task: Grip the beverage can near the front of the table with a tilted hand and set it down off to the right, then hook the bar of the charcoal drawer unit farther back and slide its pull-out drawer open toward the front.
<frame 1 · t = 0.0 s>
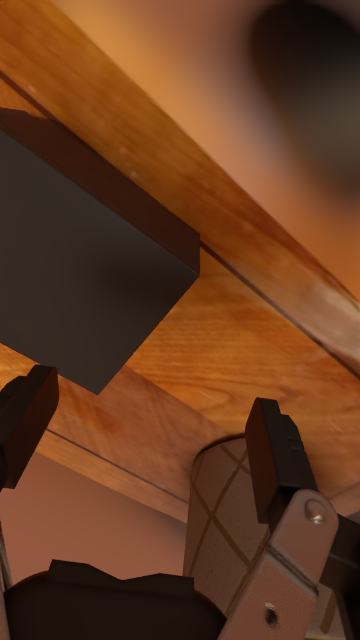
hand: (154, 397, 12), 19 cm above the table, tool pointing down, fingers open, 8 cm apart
planter: (248, 468, 46), on the table
fryer: (93, 244, 29), on the table
pull-out drawer: (21, 226, 24), point 5 cm above the table, slide at 0.5 cm
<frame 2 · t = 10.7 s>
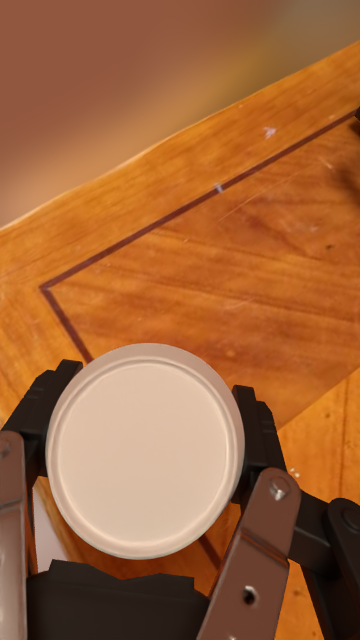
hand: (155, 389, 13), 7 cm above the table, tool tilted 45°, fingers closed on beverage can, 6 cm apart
beverage can: (153, 417, 20), on the table, touching gripper
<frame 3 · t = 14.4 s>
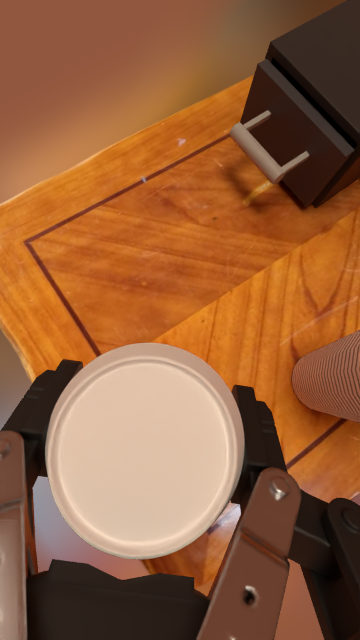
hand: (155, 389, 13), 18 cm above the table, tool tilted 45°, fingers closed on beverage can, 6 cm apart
beverage can: (153, 417, 20), point 11 cm above the table, touching gripper
fryer: (321, 139, 39), on the table
pull-out drawer: (313, 123, 33), point 5 cm above the table, slide at 0.5 cm
cup: (317, 381, 32), on the table
when the fingers open (7 cm above the table, at t = 18.5 s): beverage can stays where it is, on the table.
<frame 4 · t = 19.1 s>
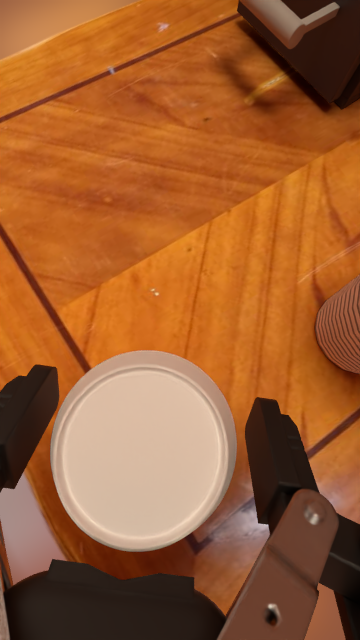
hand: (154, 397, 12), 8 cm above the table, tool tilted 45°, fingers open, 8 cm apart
beverage can: (152, 419, 20), on the table
fryer: (346, 27, 30), on the table
cup: (351, 333, 23), on the table
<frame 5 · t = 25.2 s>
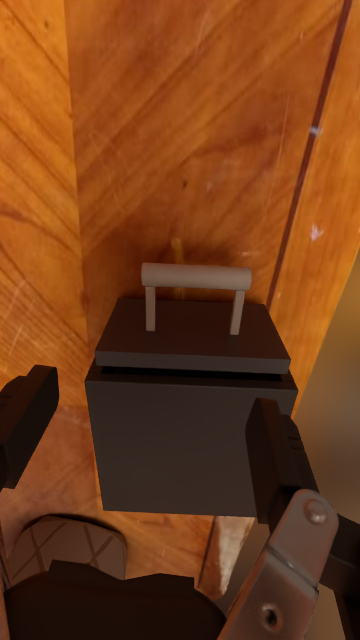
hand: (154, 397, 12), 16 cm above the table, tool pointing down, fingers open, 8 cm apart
planter: (75, 541, 49), on the table
fryer: (186, 376, 32), on the table
pull-out drawer: (189, 369, 25), point 5 cm above the table, slide at 0.5 cm
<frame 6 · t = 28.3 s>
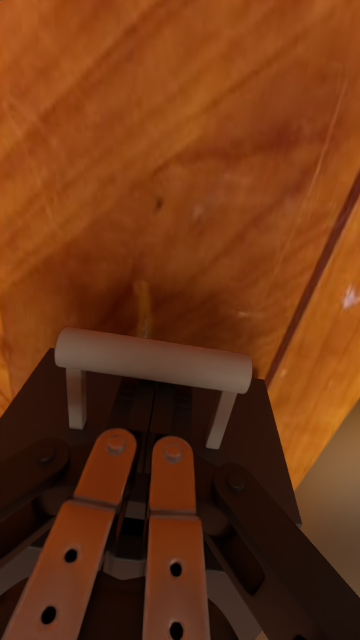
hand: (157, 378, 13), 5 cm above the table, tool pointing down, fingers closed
fryer: (146, 452, 24), on the table
pull-out drawer: (141, 470, 17), point 5 cm above the table, slide at 1.0 cm, touching gripper
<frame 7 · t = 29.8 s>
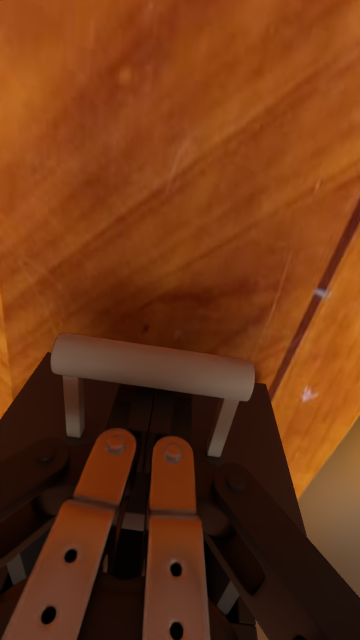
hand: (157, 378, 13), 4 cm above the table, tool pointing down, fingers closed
fryer: (139, 504, 27), on the table
pull-out drawer: (140, 477, 16), point 5 cm above the table, slide at 7.7 cm, touching gripper
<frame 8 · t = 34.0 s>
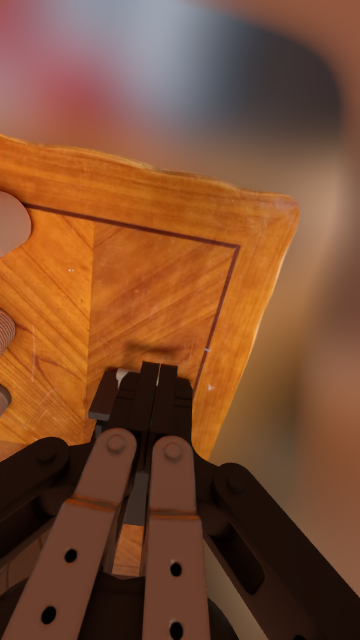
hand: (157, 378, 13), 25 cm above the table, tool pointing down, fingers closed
planter: (61, 529, 72), on the table
beverage can: (8, 217, 35), on the table
fryer: (140, 443, 54), on the table
pull-out drawer: (141, 417, 44), point 5 cm above the table, slide at 7.8 cm
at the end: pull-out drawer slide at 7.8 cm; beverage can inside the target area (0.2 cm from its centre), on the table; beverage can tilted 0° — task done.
